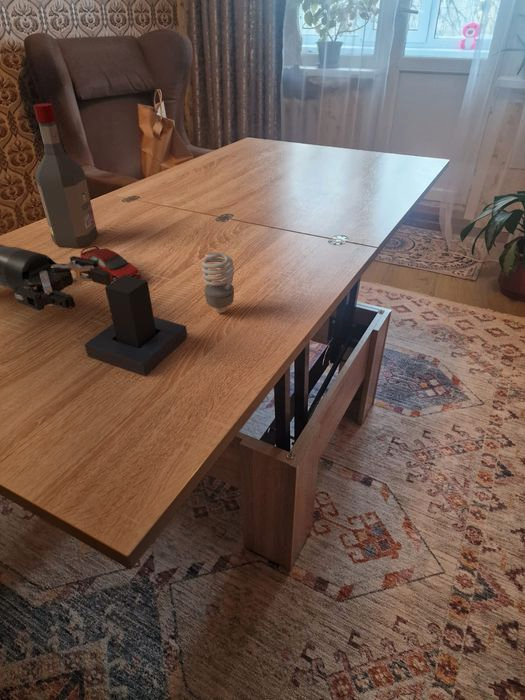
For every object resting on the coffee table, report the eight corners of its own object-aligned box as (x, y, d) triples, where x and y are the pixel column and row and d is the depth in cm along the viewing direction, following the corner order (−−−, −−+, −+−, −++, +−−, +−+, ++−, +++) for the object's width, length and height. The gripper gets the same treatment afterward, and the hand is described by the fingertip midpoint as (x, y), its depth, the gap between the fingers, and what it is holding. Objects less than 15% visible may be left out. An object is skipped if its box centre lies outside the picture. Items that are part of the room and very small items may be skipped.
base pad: (145, 376, 75) (142, 363, 73) (87, 356, 79) (84, 344, 78) (187, 337, 83) (186, 325, 82) (133, 321, 88) (131, 310, 86)
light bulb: (200, 316, 89) (194, 257, 82) (214, 302, 93) (209, 244, 86) (227, 323, 87) (224, 262, 80) (240, 308, 91) (238, 249, 84)
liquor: (101, 234, 121) (73, 101, 103) (86, 249, 114) (52, 109, 96) (67, 232, 122) (33, 100, 104) (49, 247, 114) (10, 108, 97)
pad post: (141, 357, 79) (128, 293, 72) (119, 350, 81) (104, 287, 74) (158, 343, 82) (147, 280, 75) (136, 336, 84) (124, 274, 77)
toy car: (103, 261, 108) (99, 240, 105) (143, 282, 100) (139, 260, 97) (81, 269, 105) (76, 248, 102) (120, 292, 97) (116, 269, 94)
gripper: (-21, 267, 78) (52, 289, 72) (47, 236, 88) (116, 253, 82) (-6, 307, 82) (65, 331, 76) (57, 272, 93) (124, 291, 87)
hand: (91, 290), depth 79 cm, fingers open, 8 cm apart
